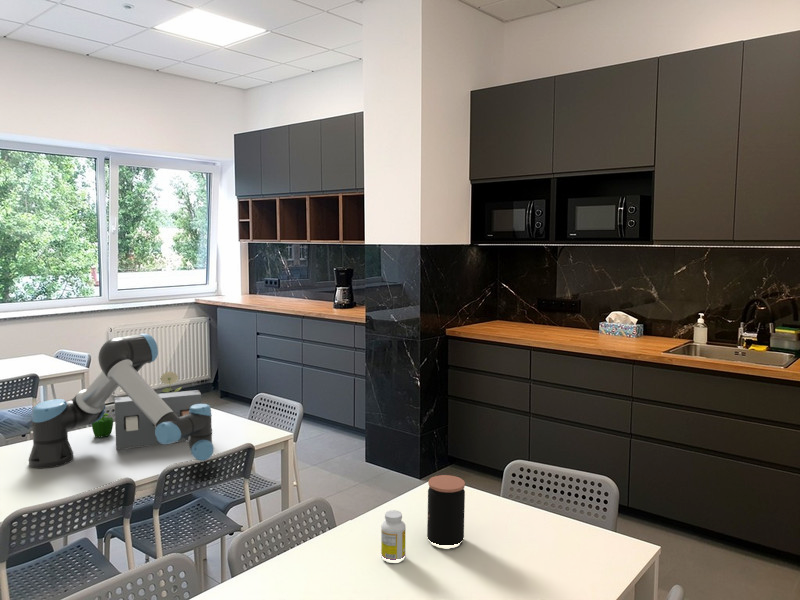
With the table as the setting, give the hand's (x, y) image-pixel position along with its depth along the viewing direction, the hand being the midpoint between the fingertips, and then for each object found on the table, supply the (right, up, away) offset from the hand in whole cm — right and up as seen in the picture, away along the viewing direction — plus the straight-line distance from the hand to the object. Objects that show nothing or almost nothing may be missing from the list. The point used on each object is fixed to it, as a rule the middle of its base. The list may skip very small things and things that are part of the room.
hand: (190, 422), depth 248 cm
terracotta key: (-4, -2, +9) cm, 10 cm away
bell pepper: (-45, -9, +16) cm, 48 cm away
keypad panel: (-17, -10, +10) cm, 22 cm away
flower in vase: (-20, -8, +36) cm, 42 cm away
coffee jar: (+101, -20, -74) cm, 126 cm away
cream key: (-24, -2, -1) cm, 24 cm away
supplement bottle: (+85, -20, -84) cm, 121 cm away
